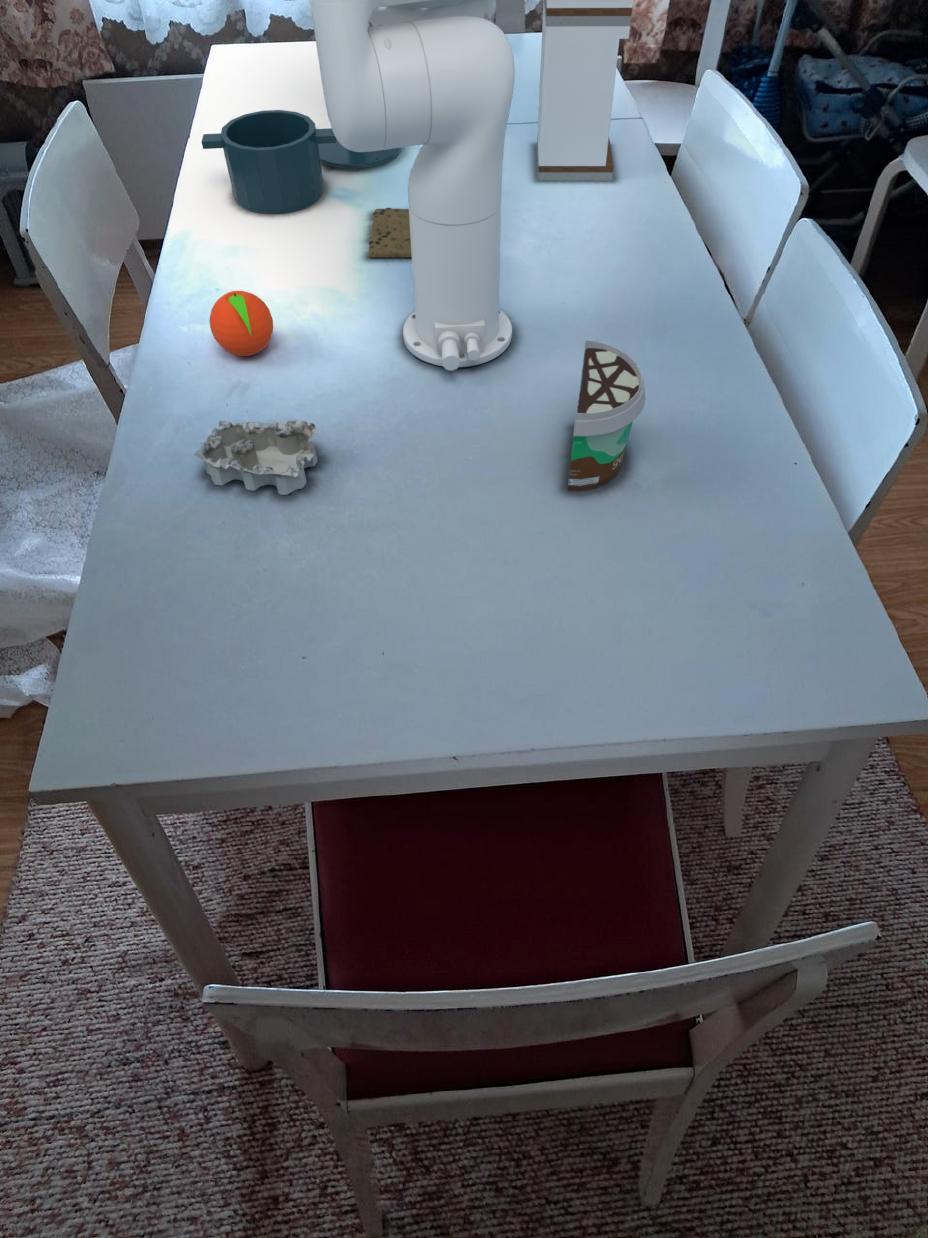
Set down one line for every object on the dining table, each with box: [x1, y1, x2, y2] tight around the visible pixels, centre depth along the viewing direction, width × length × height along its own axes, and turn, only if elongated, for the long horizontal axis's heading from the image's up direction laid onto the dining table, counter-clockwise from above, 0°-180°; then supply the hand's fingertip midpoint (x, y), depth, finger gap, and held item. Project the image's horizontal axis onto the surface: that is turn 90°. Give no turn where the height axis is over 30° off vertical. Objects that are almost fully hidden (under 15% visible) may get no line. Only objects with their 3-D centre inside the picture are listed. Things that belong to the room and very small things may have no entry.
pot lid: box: [318, 139, 402, 169], centre depth 129 cm, size 14×14×7 cm
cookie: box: [367, 207, 412, 258], centre depth 115 cm, size 12×12×1 cm
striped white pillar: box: [536, 0, 634, 182], centre depth 115 cm, size 11×11×35 cm
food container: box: [567, 339, 646, 492], centre depth 83 cm, size 12×6×10 cm, turn 171°
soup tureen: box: [368, 0, 497, 28], centre depth 139 cm, size 28×28×21 cm
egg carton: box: [193, 419, 318, 496], centre depth 85 cm, size 11×8×4 cm
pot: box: [201, 109, 336, 215], centre depth 120 cm, size 13×18×8 cm
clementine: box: [208, 290, 274, 357], centre depth 97 cm, size 8×7×7 cm
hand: (344, 31), depth 119 cm, fingers open, 9 cm apart
